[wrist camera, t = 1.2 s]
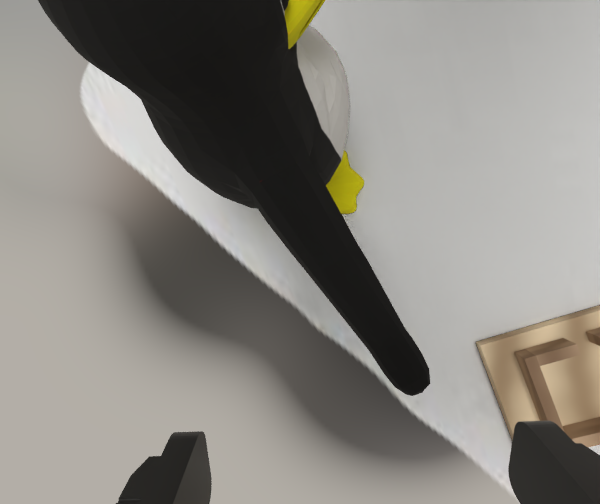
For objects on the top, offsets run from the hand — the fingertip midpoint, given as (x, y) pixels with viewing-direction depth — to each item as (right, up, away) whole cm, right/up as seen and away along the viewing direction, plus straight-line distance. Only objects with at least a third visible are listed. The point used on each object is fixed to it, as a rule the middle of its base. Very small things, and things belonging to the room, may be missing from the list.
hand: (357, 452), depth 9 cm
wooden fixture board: (+26, -7, +24) cm, 36 cm away
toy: (-1, +15, +28) cm, 32 cm away
